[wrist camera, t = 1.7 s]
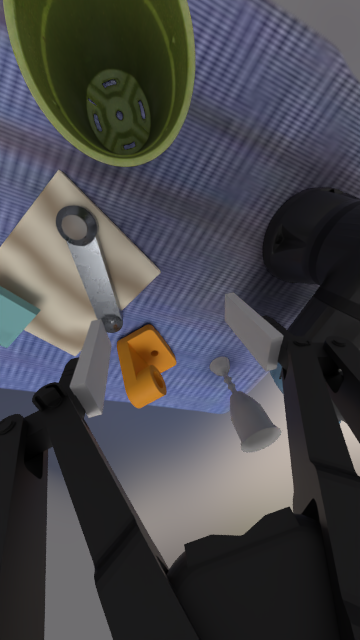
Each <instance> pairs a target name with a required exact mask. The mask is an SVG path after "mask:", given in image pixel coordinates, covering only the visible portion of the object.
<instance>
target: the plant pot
mask: <svg viewBox="0 0 360 640" xmlns="http://www.w3.org/2000/svg"><path fill="white" fill-rule="evenodd" d="M3 5H4V13H5V19H6V24H7V29H8V34H9V38H10V42H11V45H12V48H13V52H14V55H15V58H16V61H17V63H18V66H19V68H20V71H21V73H22V75H23V78H24V80H25V82H26V84H27V86H28V88H29V90H30V92H31V94H32V96H33V97H34V99H35V101H36V102H37V104H38V106H39V107H40V109H41V110H42V112H43V113H44V114H45V116H46V117H47V118H48V120H49V121H50V122H51V123H52V125H53V126H54V127H55V128H56V129H57V130H58V132H59V133H60V134H61V135H62V136H63V137H64V138H65V139H66V140H67V141H68V142H70V143H71V144H72V145H73V146H75V147H76V148H77V149H78V150H80V151H81V152H83V153H84V154H86V155H88V156H89V157H91V158H93V159H95V160H97V161H100V162H103V163H105V164H109V165H113V166H120V167H132V166H138V165H141V164H144V163H147V162H149V161H151V160H153V159H155V158H156V157H158V156H159V155H160V154H162V153H163V152H164V151H165V150H166V149H167V148H168V147H169V146H170V145H171V144H172V142H173V141H174V140H175V138H176V137H177V135H178V133H179V131H180V129H181V127H182V125H183V123H184V121H185V118H186V116H187V113H188V110H189V106H190V102H191V97H192V93H193V86H194V79H195V43H194V34H193V26H192V21H191V15H190V11H189V7H188V3H187V0H3ZM111 79H115V80H116V85H111V86H108V87H106V88H105V87H104V86H103V85H102V83H105V82H106V81H108V80H111ZM88 98H89V99H90V100H92V101H93V102H94V103H95V104H96V105H97V106H96V105H94V104H92V103H91V102H90V101H89V100H88ZM139 100H141V101H142V104H143V107H144V111H145V116H146V119H143V118H142V116H141V111H140V106H139V104H138V102H139ZM117 111H120V112H122V114H123V119H122V120H119V119H118V118H117V116H116V113H117ZM94 114H96V115H97V116H98V120H99V123H100V125H101V128H102V131H99V130H98V129H97V127H96V124H95V121H94ZM144 128H145V129H146V130H145V129H144ZM133 142H135V145H136V146H135V147H133V148H129V149H127V150H125V149H124V145H128V144H131V143H133ZM114 148H115V149H114Z"/></svg>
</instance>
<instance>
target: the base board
mask: <svg viewBox="0 0 360 640" xmlns="http://www.w3.org/2000/svg"><path fill="white" fill-rule="evenodd" d="M74 205H78V206H83V207H85V208H87V209H89V210H90V211H91V212H92V213H93V214H94V215H95V217H96V218H97V220H98V224H99V233H98V235H99V238H100V242H101V245H102V248H103V251H104V255H105V258H106V261H107V264H108V268H109V271H110V274H111V277H112V281H113V284H114V287H115V290H116V293H117V297H118V300H119V303H120V306H121V310H123V309H124V308H125V307H126V306H127V305H128V304H129V303H130V302H131V301H132V300H133V299H134V298H135V297H136V296H137V295H138V294H139V293H140V292H141V291H142V290H143V289H144V288H145V287H146V286H147V285H148V284H149V283H150V282H152V281H153V280H154V279H155V278H156V277H157V276H158V275H159V274H160V273H161V271H160V269H159V268H158V267H157V266H156V265H155V264H154V263H153V262H152V261H151V260H150V259H149V258H148V257H147V256H146V255H145V254H144V253H143V252H142V251H141V250H140V249H139V248H138V247H137V246H136V245H135V244H134V243H133V242H132V241H131V240H130V239H129V238H128V237H127V236H126V235H125V234H124V233H123V232H122V231H121V230H120V229H119V228H118V227H117V226H116V225H115V224H114V223H113V222H112V221H111V220H110V219H109V218H108V217H107V216H106V215H105V214H104V213H103V212H102V211H101V210H100V209H99V208H98V207H97V206H96V205H95V204H94V203H93V202H92V201H91V200H90V199H89V198H88V197H87V196H86V195H85V194H84V193H83V192H82V191H81V190H80V189H79V188H78V187H77V186H76V185H75V184H74V183H73V182H72V181H71V180H70V179H69V178H68V177H67V176H66V175H65V174H64V173H63V172H62V171H60V170H58V171H57V173H56V174H55V175H54V177H53V178H52V179H51V181H50V182H49V183H48V185H47V186H46V187H45V189H44V190H43V191H42V193H41V194H40V195H39V197H38V198H37V199H36V201H35V202H34V203H33V204H32V206H31V207H30V208H29V210H28V211H27V212H26V214H25V215H24V216H23V218H22V219H21V220H20V222H19V223H18V224H17V226H16V227H15V228H14V230H13V231H12V232H11V234H10V235H9V236H8V238H7V239H6V240H5V242H4V243H3V244H2V246H1V247H0V286H1V287H3V288H5V289H7V290H8V291H10V292H12V293H13V294H15V295H17V296H18V297H20V298H22V299H23V300H25V301H27V302H28V303H30V304H32V305H34V306H35V307H37V308H39V309H40V310H41V311H40V312H39V313H38V314H37V315H36V316H35V318H34V319H33V320H32V321H31V322H30V323H29V324H28V325H27V327H26V328H25V329H24V330H25V331H27V332H29V333H31V334H33V335H35V336H37V337H39V338H41V339H43V340H45V341H47V342H49V343H51V344H52V345H54V346H56V347H58V348H60V349H62V350H64V351H66V352H68V353H70V354H72V355H74V356H76V355H77V354H78V353H79V352H80V351H81V350H82V348H83V345H84V342H85V339H86V336H87V333H88V330H89V327H90V324H91V321H94V320H97V317H96V315H95V312H94V310H93V307H92V305H91V302H90V300H89V297H88V295H87V292H86V290H85V287H84V285H83V282H82V280H81V277H80V275H79V272H78V270H77V267H76V265H75V262H74V260H73V257H72V255H71V252H70V250H69V247H68V244H67V242H66V240H65V239H63V238H62V236H61V235H60V234H59V232H58V230H57V227H56V216H57V213H58V212H59V211H60V210H61V209H62V208H63V207H66V206H74ZM62 229H63V231H64V233H65V234H66V235H67V236H68V237H69V238H71V239H74V240H80V239H82V238H84V237H85V236H86V235H87V233H88V226H87V224H86V222H85V221H84V219H83V218H81V217H80V216H77V215H68V216H66V217H65V218H64V219H63V220H62Z"/></svg>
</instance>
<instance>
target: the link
mask: <svg viewBox="0 0 360 640" xmlns="http://www.w3.org/2000/svg"><path fill="white" fill-rule="evenodd" d="M68 215H77V216H80V217H81V218H83V219H84V221H85V222H86V224H87V226H88V233H87V235H86V236H85V237H84V238H82V239H80V240H74V239H71V238H69V237H68V236H67V235H66V234H65V233H64V231H63V229H62V220H63V219H64V218H65V217H66V216H68ZM56 227H57V230H58V232H59V234H60V235H61V236H62V238H63V239H65V240H66V242H67V244H68V247H69V250H70V252H71V255H72V257H73V260H74V262H75V265H76V267H77V270H78V272H79V275H80V277H81V280H82V282H83V285H84V287H85V290H86V292H87V295H88V297H89V300H90V302H91V305H92V307H93V310H94V312H95V315H96V317H97V320H99V319H101V320H102V322H103V325H104V327H105V330H106V332H109V333H114V332H117V331H119V330H120V329H121V328H122V325H123V313H122V310H121V306H120V303H119V300H118V297H117V293H116V290H115V287H114V284H113V281H112V277H111V274H110V271H109V268H108V264H107V261H106V258H105V255H104V251H103V248H102V245H101V242H100V238H99V235H98V233H99V224H98V220H97V218H96V217H95V215H94V214H93V213H92V212H91V211H90V210H89V209H87V208H85V207H83V206H78V205H74V206H66V207H63V208H62V209H61V210H60V211H59V212H58V213H57V216H56Z"/></svg>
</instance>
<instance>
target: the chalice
mask: <svg viewBox="0 0 360 640" xmlns="http://www.w3.org/2000/svg"><path fill="white" fill-rule="evenodd" d="M229 369H230V367H229V360H228V358H226V357H219V358H216V359H214V360H213V361H212V362H211V364H210V370H211V371H212V372H214V373H215V374H216V375H218V376H223V377H224V379H225V380H224V382H225V383H227V384H228V389H230V390H231V391H232V393H233V394H232V395H231V397H230V412H231V421H232V423H233V425H234V427H235V429H236V431H237V434H238V436H239V438H240V440H241V449H242V451H243V452H255V451H259V450H261V449H264V448H265V447H267V446H269V445H271V444H272V443H274V442H275V441H276V440H277V439H278V438H279V436H280V435H281V430H280V429H279V428H278V427H276V426H275V425H273V423H272V422H271V420H270V419H269V417H268V415H267V414H266V413H265V411H264V409H263V408H262V407H261V405H260V404H259V403H258V402H256V401H255V400H254V399H253V398H251V397H250V396H248V395H246V394H245V393H243V392H241V391H238V392H237V391H236V389H235V384H233V383H232V382H231V380H232V378H231V377H229V376H228V375H227V373H228V372H229Z"/></svg>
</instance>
